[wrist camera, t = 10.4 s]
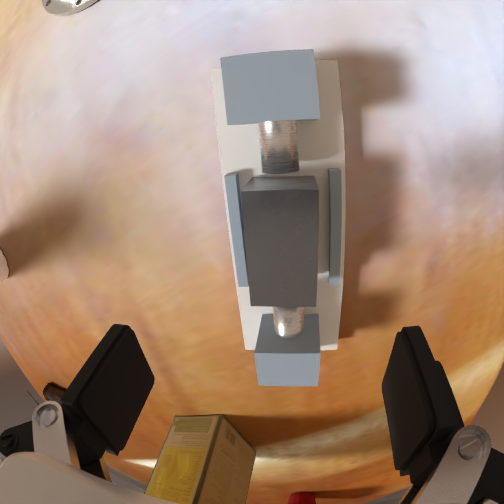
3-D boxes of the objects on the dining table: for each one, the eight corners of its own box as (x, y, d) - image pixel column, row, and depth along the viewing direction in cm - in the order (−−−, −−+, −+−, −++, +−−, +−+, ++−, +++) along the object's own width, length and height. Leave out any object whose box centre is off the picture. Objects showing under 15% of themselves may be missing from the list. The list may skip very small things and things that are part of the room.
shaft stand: (215, 73, 19) (185, 56, 13) (334, 63, 18) (349, 41, 12) (248, 339, 29) (236, 387, 24) (335, 339, 28) (340, 388, 22)
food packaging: (171, 415, 39) (117, 548, 17) (223, 413, 36) (177, 571, 14) (211, 453, 44) (178, 566, 21) (259, 452, 41) (233, 579, 18)
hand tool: (57, 391, 46) (47, 406, 42) (49, 379, 45) (38, 394, 41) (127, 417, 44) (117, 436, 39) (119, 405, 42) (109, 425, 38)
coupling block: (252, 177, 21) (240, 191, 17) (314, 175, 20) (318, 189, 16) (258, 274, 24) (250, 306, 20) (313, 274, 23) (316, 306, 19)
